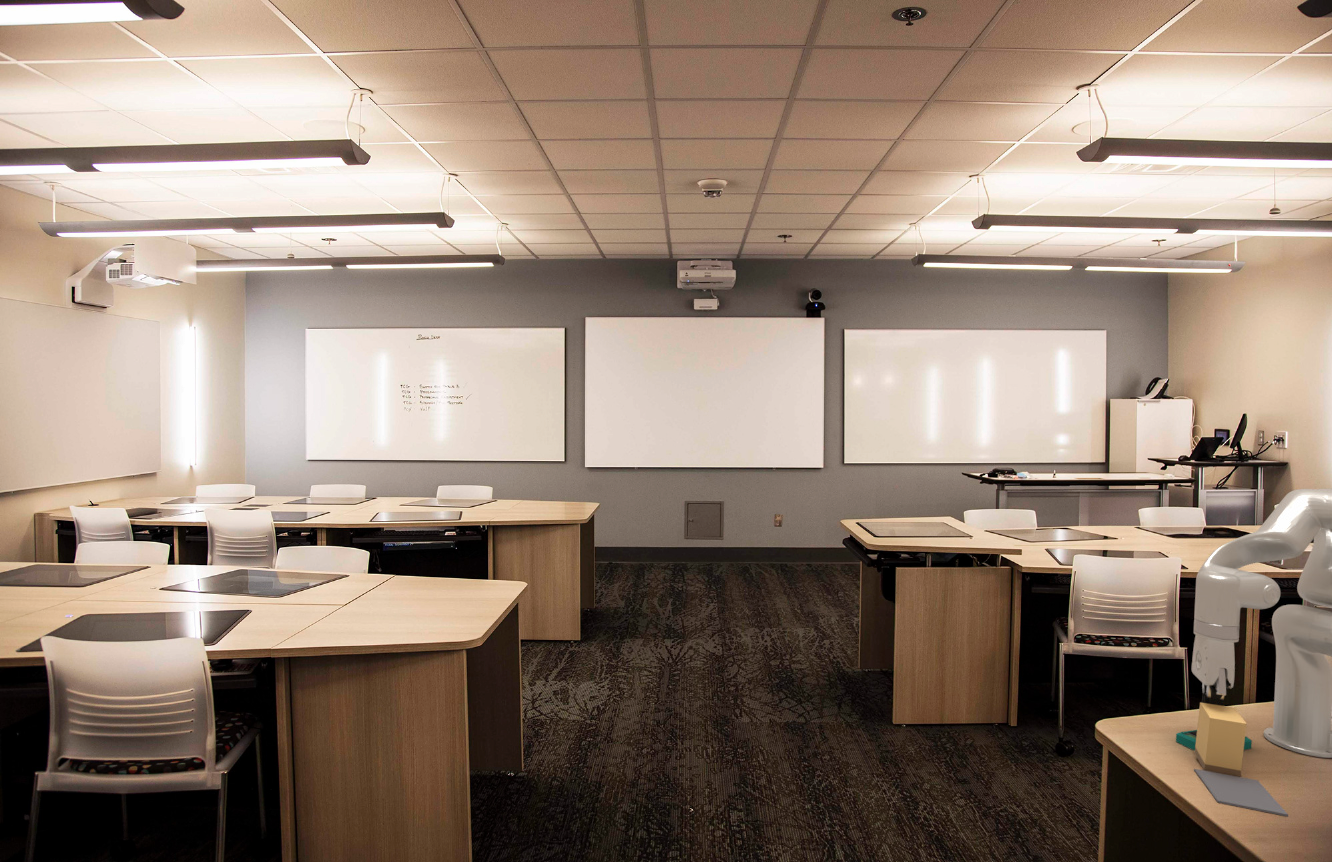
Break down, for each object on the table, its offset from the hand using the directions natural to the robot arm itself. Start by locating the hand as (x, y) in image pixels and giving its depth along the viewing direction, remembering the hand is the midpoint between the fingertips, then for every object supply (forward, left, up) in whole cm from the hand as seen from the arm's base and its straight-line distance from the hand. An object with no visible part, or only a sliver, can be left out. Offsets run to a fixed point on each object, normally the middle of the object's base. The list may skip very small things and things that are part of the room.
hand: (1211, 714), depth 144 cm
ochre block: (0, +3, -9) cm, 10 cm away
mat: (0, +14, -10) cm, 17 cm away
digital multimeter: (-3, -9, -11) cm, 14 cm away
